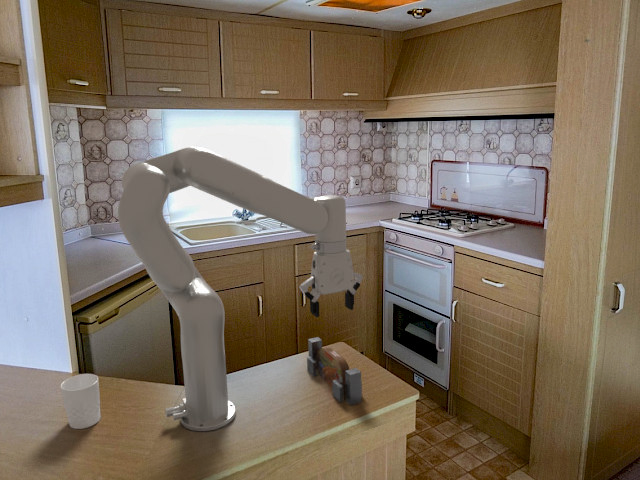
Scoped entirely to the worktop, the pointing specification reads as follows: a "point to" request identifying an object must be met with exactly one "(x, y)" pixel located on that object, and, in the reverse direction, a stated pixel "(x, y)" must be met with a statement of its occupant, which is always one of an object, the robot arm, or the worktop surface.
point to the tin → (331, 366)
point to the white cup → (81, 400)
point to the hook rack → (351, 380)
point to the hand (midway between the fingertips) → (332, 311)
